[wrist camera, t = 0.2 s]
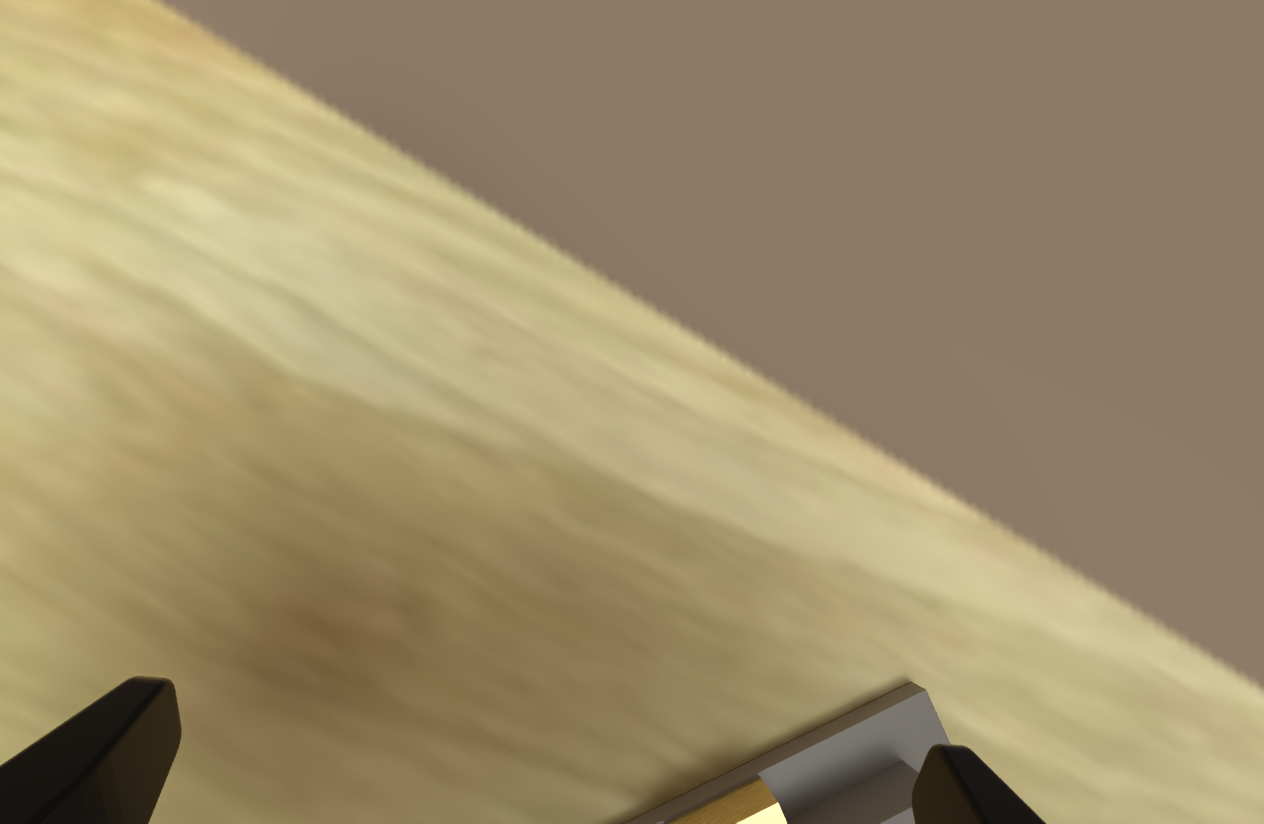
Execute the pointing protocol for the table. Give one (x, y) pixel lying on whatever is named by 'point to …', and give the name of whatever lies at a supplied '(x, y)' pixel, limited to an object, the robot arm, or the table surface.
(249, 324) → the table surface
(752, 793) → the gray square tray
